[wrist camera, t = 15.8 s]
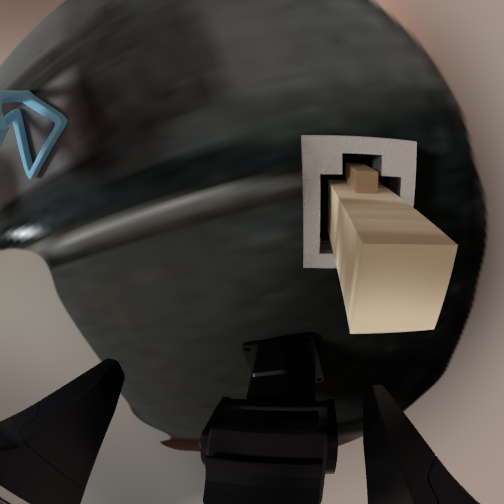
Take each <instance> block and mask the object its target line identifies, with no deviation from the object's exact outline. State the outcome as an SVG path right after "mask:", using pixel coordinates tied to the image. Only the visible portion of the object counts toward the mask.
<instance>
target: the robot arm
mask: <svg viewBox="0 0 504 504" xmlns="http://www.w3.org/2000/svg"><path fill="white" fill-rule="evenodd" d="M306 338H310V339H306ZM246 347H248V348H246ZM242 351H243V353H244V355H245V357H246V359H247V361H248V363H249V365H250V367H251V369H252V374H251V378H250V383H249V387H248V392H247V396H246V400H244V399H230V397H222V399H221V401H220V403H219V404H218V405H217V407H216V409H215V410H214V412H213V414H212V416H211V418H210V419H209V421H208V423H207V425H206V426H205V428H204V430H203V432H202V434H201V438H200V440H199V446H200V447H201V459H202V462H203V464H204V465H205V467H206V480H205V489H204V496H203V503H204V504H320V503H321V501H322V494H323V486H324V478H325V474H334V472H335V468H336V462H337V451H338V433H337V422H336V413H335V404H334V399H327V401H315V394H316V383H320V382H322V381H324V374H323V370H322V366H321V362H320V358H319V355H318V351H317V347H316V343H315V340H314V336H313V334H311V333H302V334H297V335H291V336H285V337H279V338H273V339H267V340H260V341H253V342H246V343H244V344H243V346H242ZM124 378H125V376H124V372H123V370H122V368H121V366H120V364H119V362H118V361H117V360H114V359H110V358H108V359H106V360H104V361H102V362H101V363H99V364H98V365H96V366H95V367H93V368H91V369H90V370H88V371H87V372H85V373H83V374H82V375H80V376H79V377H77V378H76V379H74V380H73V381H71V382H69V383H68V384H66V385H64V386H63V387H61V388H60V389H58V390H56V391H55V392H53V393H52V394H50V395H48V396H47V397H45V398H44V399H42V400H41V401H39V402H37V403H35V404H34V405H32V406H30V407H29V408H27V409H25V410H23V411H21V412H19V413H17V414H15V415H13V416H11V417H9V418H7V419H5V420H3V421H1V422H0V504H80V503H81V500H82V497H83V494H84V491H85V488H86V485H87V482H88V479H89V477H90V474H91V471H92V468H93V465H94V463H95V460H96V457H97V455H98V452H99V449H100V447H101V444H102V442H103V439H104V436H105V434H106V432H107V429H108V427H109V424H110V422H111V419H112V417H113V414H114V412H115V408H116V406H117V402H118V399H119V395H120V392H121V389H122V386H123V382H124ZM363 444H364V455H365V465H366V479H367V495H368V504H480V503H478V502H477V501H476V500H475V499H474V498H473V497H472V496H471V495H470V494H469V493H468V492H467V491H466V490H465V489H464V488H463V487H462V486H461V485H460V484H459V483H458V482H457V481H456V480H455V479H454V477H453V476H452V475H451V474H450V473H449V472H448V471H447V469H446V468H445V467H444V465H443V464H442V463H441V461H440V460H439V459H438V458H437V456H435V454H434V452H433V451H432V450H431V448H430V447H429V446H428V444H427V443H426V441H425V440H424V439H423V438H422V436H421V435H420V433H419V432H418V431H417V430H416V428H415V427H414V425H413V424H412V423H411V422H410V420H409V419H408V418H407V416H406V415H405V414H404V412H403V411H402V410H401V408H400V407H399V406H398V404H397V403H396V402H395V401H394V399H393V398H392V397H391V395H390V394H389V393H388V392H387V390H386V389H385V388H384V386H383V385H380V384H379V385H371V386H370V387H369V389H368V391H367V393H366V396H365V398H364V402H363Z"/></svg>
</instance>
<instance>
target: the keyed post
mask: <svg viewBox="0 0 504 504" xmlns="http://www.w3.org/2000/svg"><path fill="white" fill-rule="evenodd" d="M327 230H328V234H329V237H330V241H331V245H332V249H333V254H334V258H335V262H336V266H337V271H338V275H339V280H340V284H341V289H342V293H343V298H344V303H345V308H346V313H347V318H348V324H349V329H350V334H367V333H391V332H408V331H421V330H433V329H434V328H435V325H436V323H437V320H438V317H439V314H440V311H441V308H442V304H443V301H444V298H445V295H446V291H447V288H448V284H449V280H450V277H451V273H452V269H453V265H454V260H455V256H456V252H457V247H458V245H457V244H456V243H455V242H454V241H453V240H451V239H450V238H449V237H448V236H447V235H446V234H445V233H444V232H442V231H441V230H440V229H439V228H438V227H437V226H435V225H434V224H433V223H432V222H431V221H429V220H428V219H427V218H426V217H424V216H423V215H422V214H421V213H419V212H418V211H417V210H416V209H414V208H413V207H412V206H411V205H409V204H408V203H407V202H405V201H404V200H403V199H401V198H400V197H399V196H397V195H396V194H395V193H393V192H392V191H391V190H389V189H388V188H387V187H385V186H384V185H382V184H381V183H379V182H378V172H377V171H376V170H374V169H372V168H370V167H368V166H367V165H365V164H363V163H345V180H328V226H327Z"/></svg>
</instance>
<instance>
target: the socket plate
mask: <svg viewBox="0 0 504 504" xmlns="http://www.w3.org/2000/svg"><path fill="white" fill-rule="evenodd" d="M301 146H302V175H303V268H337V266H336V262H335V258H334V254H333V249H332V245H331V241H330V239H320V174H342V153H353V154H371V168H372V169H374V170H376V171H377V172H378V174H379V175H381V176H389V185H388V189H389V190H391V191H392V192H393V193H395V194H396V195H397V196H399V197H400V198H401V199H403V200H404V201H405V202H407V203H408V204H409V205H411V206H412V207H413V206H414V195H415V180H416V156H417V142H416V141H409V140H401V139H391V138H379V137H364V136H342V135H301Z"/></svg>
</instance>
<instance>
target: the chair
mask: <svg viewBox="0 0 504 504" xmlns="http://www.w3.org/2000/svg"><path fill="white" fill-rule="evenodd" d="M7 102H23V103H24V104H26V105H27V106H29V107H30V108H32V109H33V110H35V111H37V112H38V113H40V114H42V115H43V116H45V117H47V118H48V119H50V120H52V121H53V122H54V123H55V126H54V128H53V130H52V132H51V133H50V135H49V137H48V138H47V140H46V142H45V143H44V145H43V147H42V149H41V151H40V152H39V154H38V156H37V158H36V160H35V162H34V164H33V162H32V158H31V154H30V150H29V146H28V141H27V137H26V132H25V127H24V122H23V118H22V114H21V111H20V109H14V110H12V111H10V112H9V113H8V114H7V115H5V116H4V117H3V114H2V104H3V103H7ZM11 122H13V125H14V129H15V134H16V138H17V142H18V147H19V151H20V155H21V158H22V162H23V165H24V169H25V172H26V174H27V176H28V178H29V179H32V178H34V177H36V176H37V175H38V173H39V171H40V169H41V167H42V165H43V164H44V162H45V160H46V158H47V156H48V155H49V153H50V151H51V149H52V148H53V146H54V144H55V143H56V141H57V139H58V138H59V136H60V134H61V133H62V131H63V130H64V128H65V127H66V125H67V122H68V121H67V118H66V117H65V116H64V115H63V114H62V113H60V112H59V111H57V110H56V109H54V108H53V107H51V106H50V105H48V104H47V103H45V102H43V101H42V100H40V99H39V98H37V97H36V96H35V95H34V94H33V93H32V92H30V91H29V90H25V91H10V90H0V147H1V145H2V143H3V141H4V139H5V136H6V134H7V132H8V129H9V127H8V125H9V124H10V123H11Z"/></svg>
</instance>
